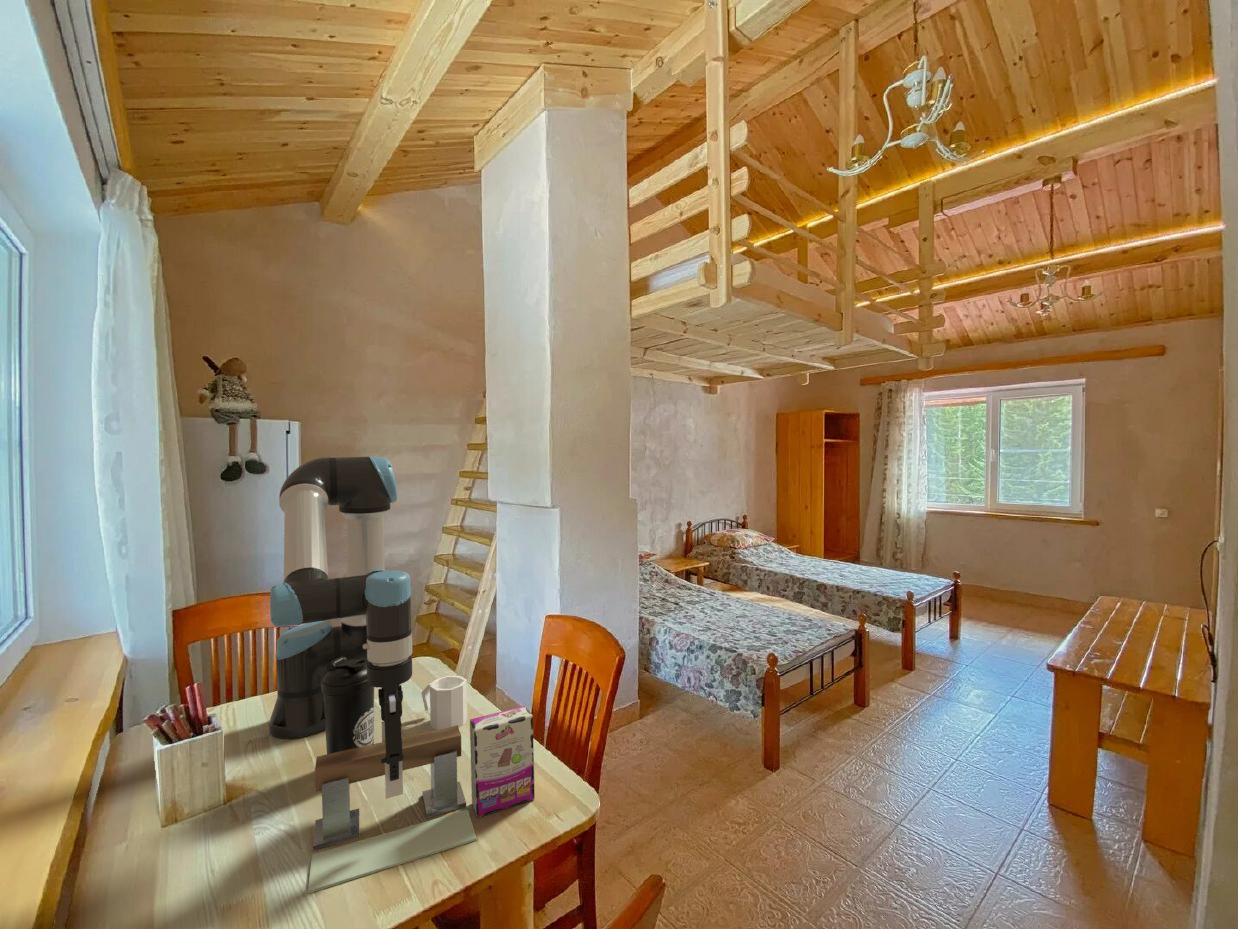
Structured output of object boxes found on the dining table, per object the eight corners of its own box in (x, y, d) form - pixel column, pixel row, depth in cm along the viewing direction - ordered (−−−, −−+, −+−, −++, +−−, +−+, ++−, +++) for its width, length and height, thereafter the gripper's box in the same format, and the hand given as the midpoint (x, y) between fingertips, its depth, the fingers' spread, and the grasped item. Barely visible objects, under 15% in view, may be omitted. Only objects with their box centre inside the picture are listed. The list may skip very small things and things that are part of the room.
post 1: (315, 824, 96) (314, 766, 96) (359, 812, 99) (358, 756, 99) (312, 851, 90) (311, 789, 89) (359, 837, 93) (358, 777, 92)
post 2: (422, 795, 104) (421, 741, 104) (459, 785, 107) (459, 733, 107) (426, 818, 98) (425, 760, 97) (466, 806, 101) (465, 751, 100)
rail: (317, 779, 95) (316, 756, 94) (457, 745, 105) (457, 725, 105) (315, 792, 91) (314, 769, 91) (461, 756, 101) (461, 735, 101)
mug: (473, 717, 134) (473, 678, 133) (450, 734, 126) (450, 693, 125) (435, 708, 138) (434, 671, 138) (410, 725, 130) (410, 685, 130)
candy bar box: (527, 785, 107) (526, 704, 106) (535, 800, 103) (534, 715, 102) (469, 802, 102) (468, 717, 101) (475, 819, 97) (474, 730, 97)
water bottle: (356, 787, 106) (353, 672, 106) (311, 781, 108) (308, 668, 108) (388, 758, 116) (386, 653, 115) (346, 752, 118) (344, 649, 118)
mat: (312, 857, 88) (312, 855, 88) (467, 811, 99) (467, 809, 99) (308, 893, 81) (308, 891, 81) (476, 840, 92) (476, 838, 92)
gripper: (365, 639, 107) (368, 744, 108) (368, 691, 84) (370, 823, 85) (406, 633, 110) (408, 735, 111) (418, 681, 88) (421, 808, 88)
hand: (391, 773), depth 98 cm, fingers open, 13 cm apart
